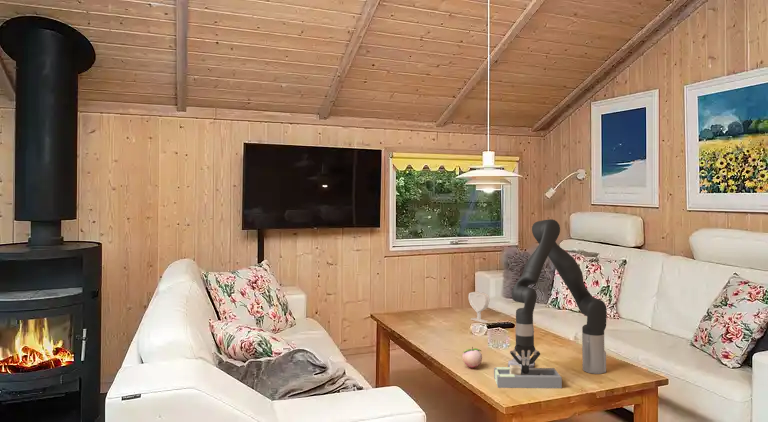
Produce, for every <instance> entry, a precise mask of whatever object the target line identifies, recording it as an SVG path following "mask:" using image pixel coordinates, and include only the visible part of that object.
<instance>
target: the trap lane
mask: <svg viewBox="0 0 768 422" xmlns="http://www.w3.org/2000/svg"><path fill="white" fill-rule="evenodd" d="M493 377H494V378H493V379H494V380H495V383H496V386H497V388H499V389H502V388H504V389H505V388H507V389H562V388H563V386H562V383H563V381H562V378H563V377H562V376H561V375H560V374H559V372H558V371H557V370H556V369H555V368H554V367H534V368H529V373H528V374H524V373H523V372H522V368H521V375H514V374H510V367H508V366H496V367H494V368H493Z"/></svg>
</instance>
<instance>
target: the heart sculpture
mask: <svg viewBox="0 0 768 422" xmlns="http://www.w3.org/2000/svg"><path fill="white" fill-rule="evenodd" d="M468 302H469V304H470V305H469V306H471V307H472V309H473V310H474V311H475V313H476V317H471V318H470V320H472V321H475V322H480V323H483V324H484V323H488V320H485V319H482V314H481V313H482V312H483V311H485V310H486V309H488V307H489V305H490V296H489V295H488V293H485V292H479V291H472V292H469V293H468Z"/></svg>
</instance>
